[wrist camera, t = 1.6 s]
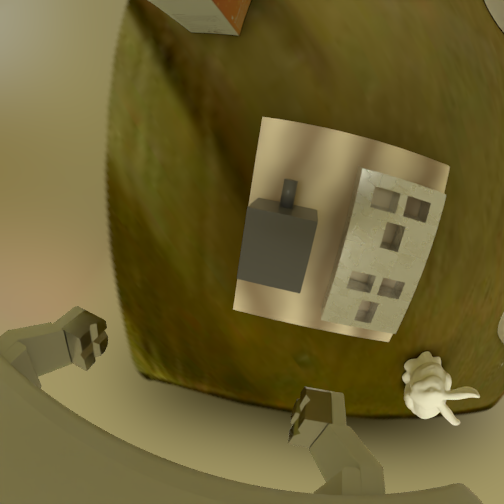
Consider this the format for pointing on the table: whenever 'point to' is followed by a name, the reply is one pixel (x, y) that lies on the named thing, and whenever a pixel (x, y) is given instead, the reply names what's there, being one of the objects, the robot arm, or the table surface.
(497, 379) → the table surface
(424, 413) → the rabbit
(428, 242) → the socket
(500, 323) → the cylinder with rectangular tab
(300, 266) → the plug
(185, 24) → the small box
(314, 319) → the board
